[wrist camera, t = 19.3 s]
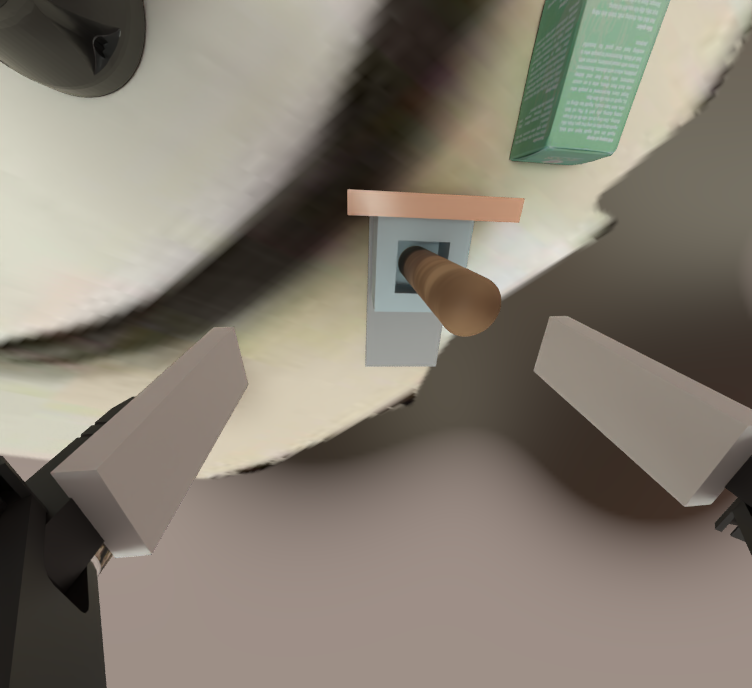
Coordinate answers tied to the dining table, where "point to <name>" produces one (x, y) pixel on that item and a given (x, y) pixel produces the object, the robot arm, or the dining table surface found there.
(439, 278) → the dowel
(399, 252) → the socket block
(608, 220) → the dining table surface
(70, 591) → the robot arm
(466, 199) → the wall
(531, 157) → the box
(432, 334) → the mat
